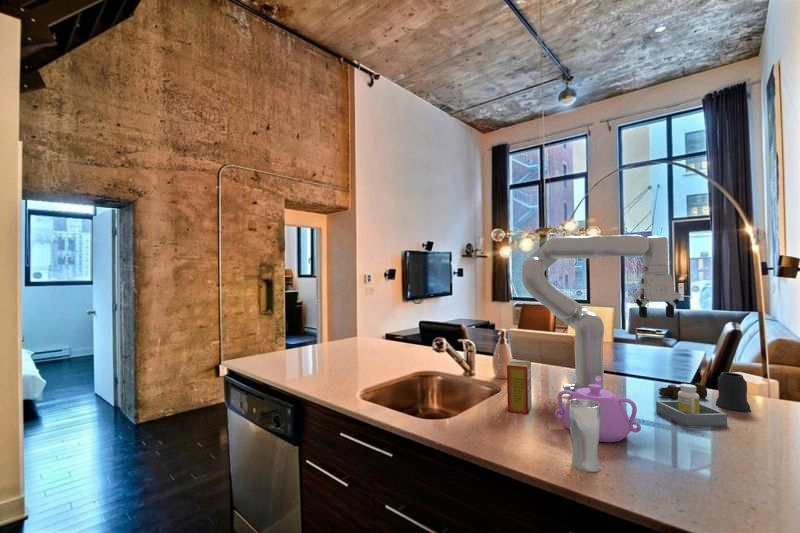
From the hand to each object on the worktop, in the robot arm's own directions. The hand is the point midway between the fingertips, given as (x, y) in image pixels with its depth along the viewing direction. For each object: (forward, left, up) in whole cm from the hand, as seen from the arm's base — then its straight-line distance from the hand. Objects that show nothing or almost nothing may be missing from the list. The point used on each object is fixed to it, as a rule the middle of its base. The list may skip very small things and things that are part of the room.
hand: (656, 317), depth 137 cm
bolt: (+11, +3, -30) cm, 32 cm away
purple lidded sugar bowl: (-37, -24, -30) cm, 53 cm away
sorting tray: (-3, -17, -30) cm, 35 cm away
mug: (+20, -7, -30) cm, 37 cm away
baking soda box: (-53, -5, -30) cm, 61 cm away
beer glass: (-51, -44, -30) cm, 74 cm away
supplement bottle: (-3, -17, -30) cm, 34 cm away
